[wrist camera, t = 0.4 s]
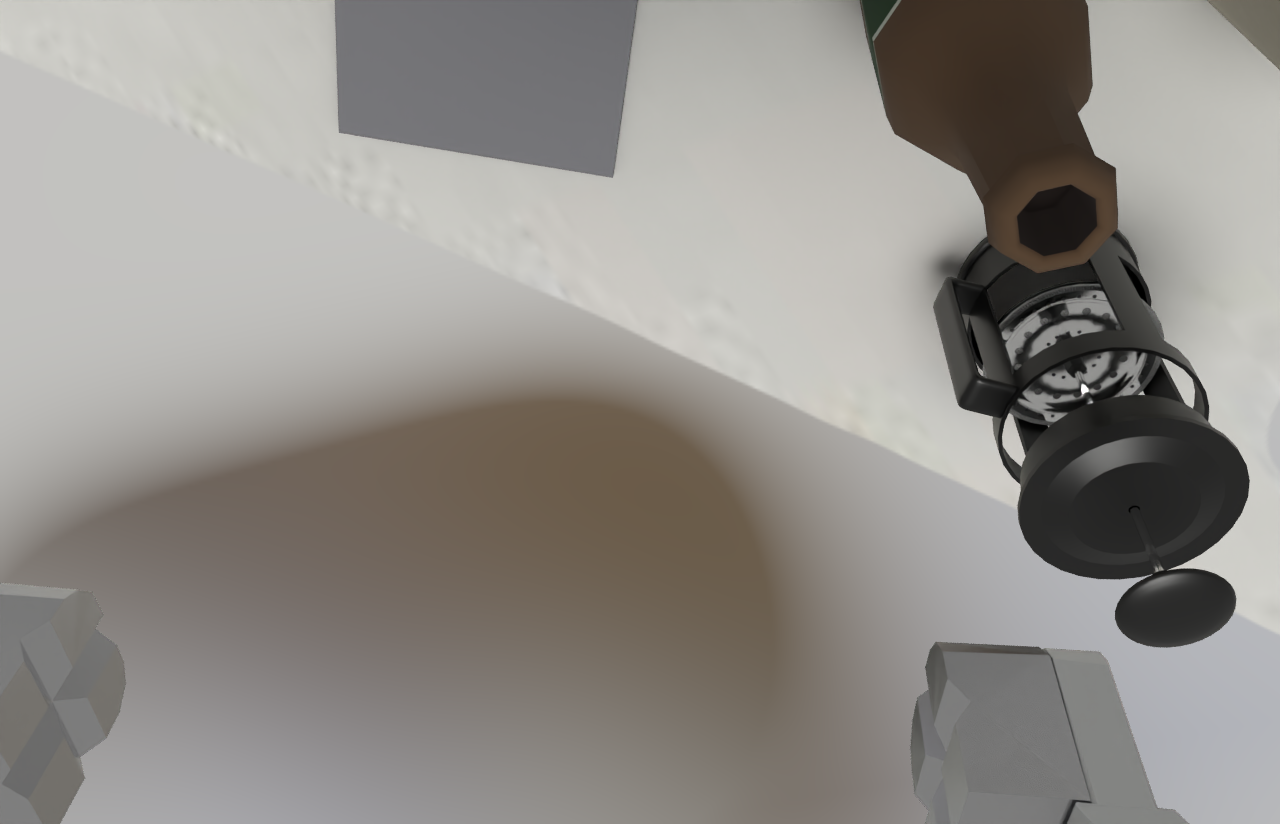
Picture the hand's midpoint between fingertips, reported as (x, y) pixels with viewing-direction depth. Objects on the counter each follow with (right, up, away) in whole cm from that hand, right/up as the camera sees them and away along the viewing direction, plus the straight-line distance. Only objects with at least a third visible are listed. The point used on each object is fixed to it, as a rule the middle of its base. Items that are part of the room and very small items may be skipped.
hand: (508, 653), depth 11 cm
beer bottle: (+15, +22, +38) cm, 47 cm away
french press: (+22, +9, +48) cm, 54 cm away
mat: (-6, +20, +42) cm, 47 cm away
